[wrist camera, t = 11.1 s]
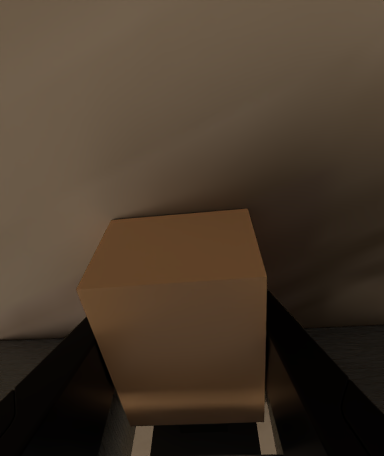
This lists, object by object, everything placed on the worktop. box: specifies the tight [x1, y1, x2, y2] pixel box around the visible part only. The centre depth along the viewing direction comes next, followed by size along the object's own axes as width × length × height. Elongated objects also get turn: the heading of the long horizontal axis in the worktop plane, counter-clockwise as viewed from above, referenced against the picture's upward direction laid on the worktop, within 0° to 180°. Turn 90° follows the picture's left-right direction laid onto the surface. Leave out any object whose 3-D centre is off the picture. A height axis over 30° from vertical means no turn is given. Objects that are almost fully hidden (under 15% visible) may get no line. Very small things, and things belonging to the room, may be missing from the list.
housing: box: [0, 325, 384, 456], centre depth 10 cm, size 4×16×5 cm, turn 95°
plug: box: [76, 209, 267, 456], centre depth 10 cm, size 10×4×3 cm, turn 6°
